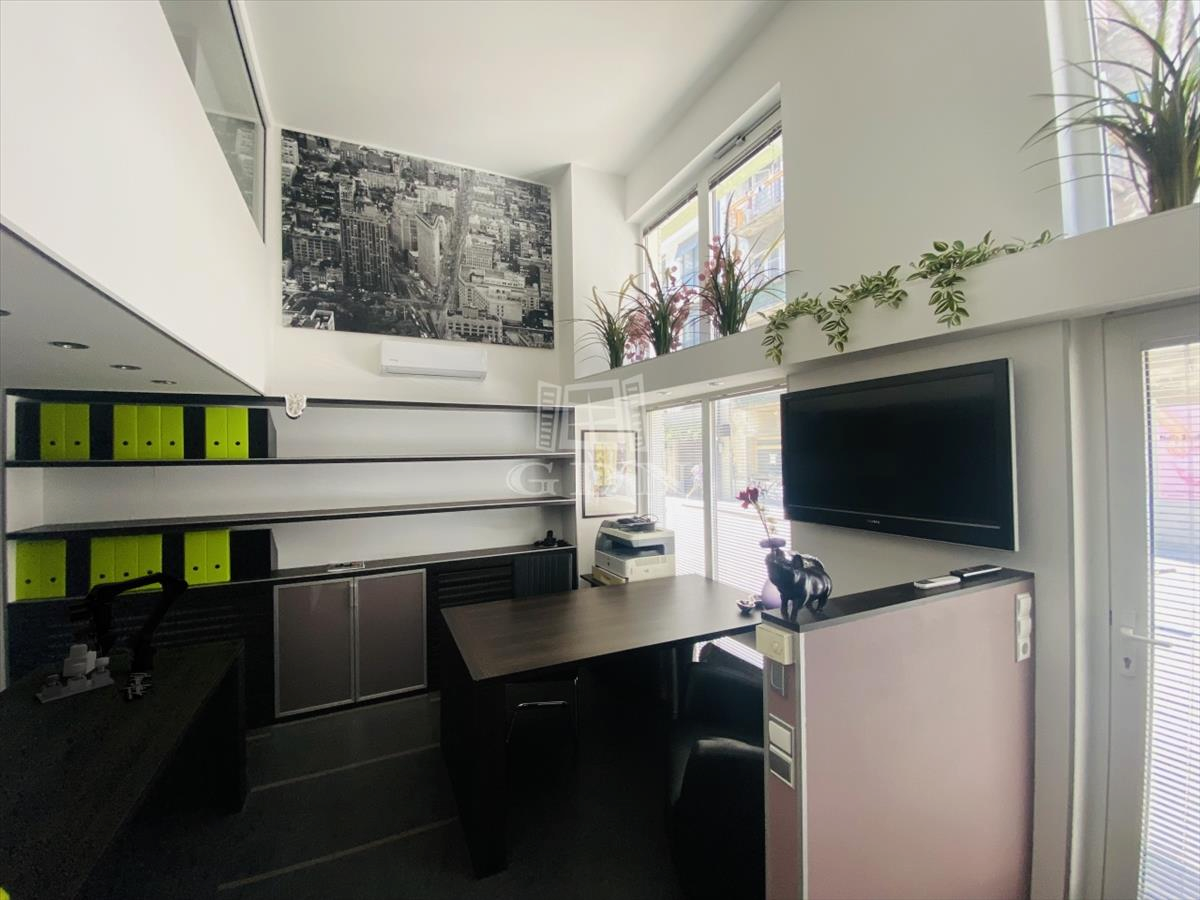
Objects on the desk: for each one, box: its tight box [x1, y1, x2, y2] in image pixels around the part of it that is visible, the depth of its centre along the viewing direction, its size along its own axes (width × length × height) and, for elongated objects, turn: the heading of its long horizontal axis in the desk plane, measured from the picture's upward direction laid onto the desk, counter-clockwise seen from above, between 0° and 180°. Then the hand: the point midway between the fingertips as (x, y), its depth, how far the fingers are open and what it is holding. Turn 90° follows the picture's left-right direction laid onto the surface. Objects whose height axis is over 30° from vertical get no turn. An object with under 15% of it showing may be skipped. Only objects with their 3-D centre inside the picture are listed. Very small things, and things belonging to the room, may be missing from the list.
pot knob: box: [45, 673, 60, 687], centre depth 177 cm, size 3×3×4 cm
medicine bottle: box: [62, 641, 97, 678], centre depth 196 cm, size 7×7×12 cm
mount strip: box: [36, 668, 115, 704], centre depth 182 cm, size 19×9×4 cm, turn 149°
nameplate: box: [118, 672, 154, 703], centre depth 185 cm, size 28×2×10 cm
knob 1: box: [70, 663, 86, 681], centre depth 182 cm, size 4×4×6 cm
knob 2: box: [94, 656, 110, 674], centre depth 188 cm, size 4×4×6 cm
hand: (100, 653), depth 188 cm, fingers open, 9 cm apart
